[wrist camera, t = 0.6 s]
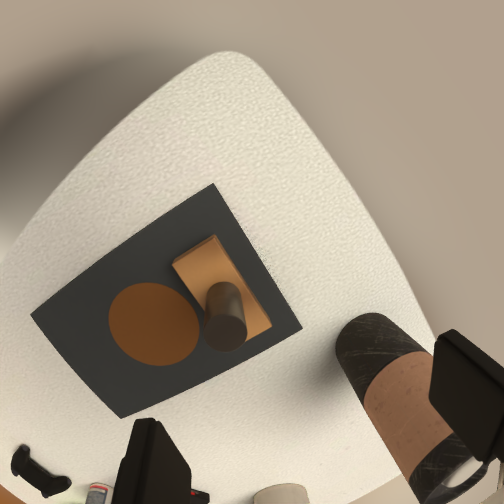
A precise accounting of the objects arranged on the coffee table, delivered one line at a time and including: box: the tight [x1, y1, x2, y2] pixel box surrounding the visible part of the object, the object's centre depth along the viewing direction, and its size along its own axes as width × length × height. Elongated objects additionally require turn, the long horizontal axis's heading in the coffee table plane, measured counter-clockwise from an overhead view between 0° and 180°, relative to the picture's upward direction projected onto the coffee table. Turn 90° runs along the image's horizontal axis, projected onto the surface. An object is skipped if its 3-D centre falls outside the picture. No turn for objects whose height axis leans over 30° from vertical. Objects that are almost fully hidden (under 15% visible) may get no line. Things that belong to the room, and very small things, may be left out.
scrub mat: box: [30, 183, 303, 419], centre depth 28 cm, size 16×24×1 cm, turn 121°
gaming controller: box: [11, 445, 72, 498], centre depth 31 cm, size 11×4×7 cm
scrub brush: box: [172, 234, 272, 352], centre depth 23 cm, size 9×4×9 cm, turn 31°
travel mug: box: [336, 313, 490, 504], centre depth 22 cm, size 8×8×20 cm
